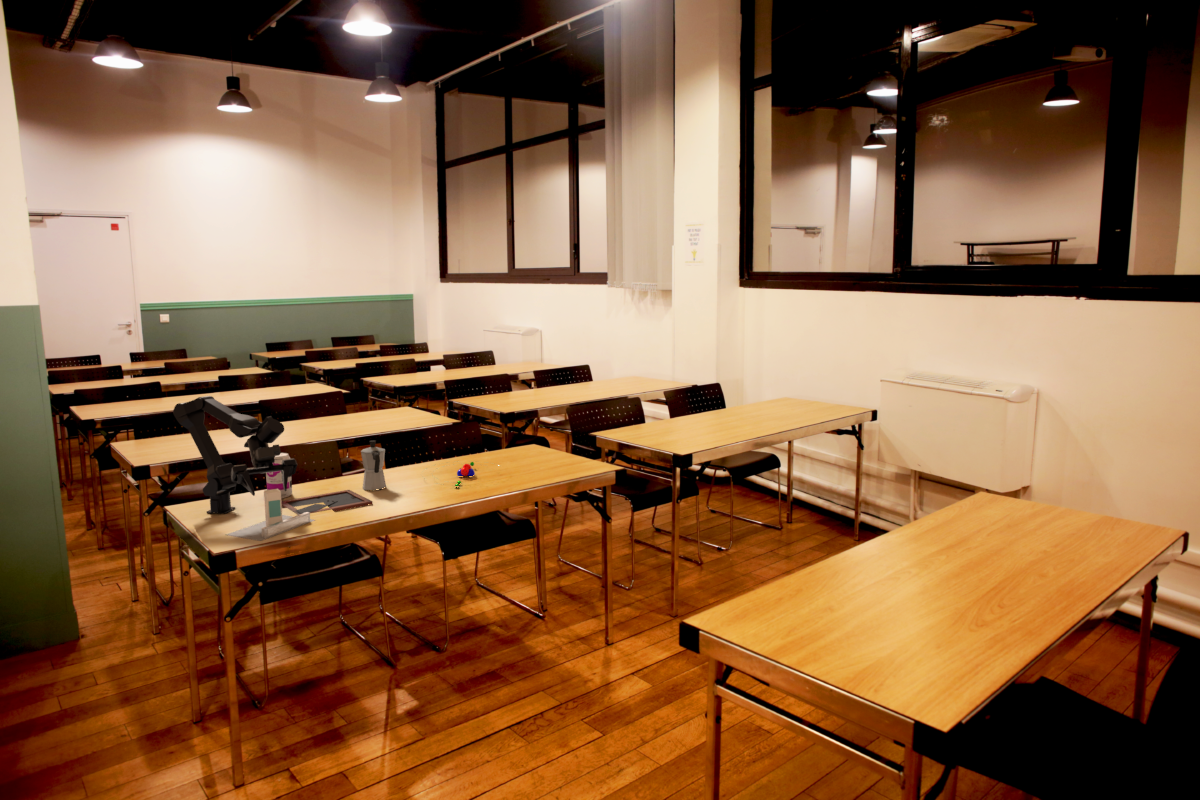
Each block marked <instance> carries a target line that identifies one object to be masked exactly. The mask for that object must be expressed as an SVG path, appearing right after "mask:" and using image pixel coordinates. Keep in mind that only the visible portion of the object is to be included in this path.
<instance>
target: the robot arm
mask: <svg viewBox="0 0 1200 800" xmlns="http://www.w3.org/2000/svg"><path fill="white" fill-rule="evenodd" d="M172 412H173V413H172V414H173V416H174V418H175V419H176V421H177V422H178V424H179V425H180V426H182V427H184V428H185V429H186V430H187V431H188V432H189V434H190V436H191V439H192V440H193V441H194V444H195V446H196V447H197V450H198V452H199V454H200V456H201V457H202V459H203V461H204V463H205V466H206V467H207V468H206V469H207V470H206V480H207V483H206V484H205V485H204V487H203V488H202V492H203V495H204V496H205V497H209V505H210V509H209V510H207V511H206V514H220V515H221V514H228V513H229V512H231V511H233V510H235V509H236V506H232V504H231V503H232V502H231V492H235V491H236V488H237V485H242V487H244V488H245V489H246V490H247V491H248V492H249V494H251V495H252V496H253V497H254V496H256V492H255V489H254V486H253V483H252V479H251V477H250V475H257V474H266V473H268V472H276V471H281V473H282V482H283V488H284V490H285V491H286V490H287V482H288V477H291V478H292V475H295V474H296V471H297V467H298V462H297V460H296V459H295V458H290V459H285V460H282V464H280V465H273V463H274V462H275V459H274V457H275V456H278V455H280V454H281V453H282V451H281V446H280V444H273V445H272V446H269V444H272V443H274V442H275V441H276V440H277V439H278V438H279V437H280V436H281V435H282V434H283V433H284V431H285V426H284V424H283V423H282V422H281V421H279V420H277V419H275V418H274V417H272V415H270V416H266V417H264V419H263V421H259V420H258V418H257V417H255V416H251V415H248V414H243V413H242V414H241V413H239V412H237V411H235V410H234V409H232V408H230V407H229V406H227V405H225V404H223V403H222V402H220V401H219V400H217V399H215V398H214V396H212V395H205V396H198V397H197V398H195V399H192V400H189V401H185V402H179V403H177V404H176V405H175V406H174V407H173V411H172ZM205 412H206V413H207V414H209V415H210V416H212V417H213V418H216V419H217V420H219V421H220V422H222V423H224V424H225V425H227V426H228V429H229V431H230V432H231V433H232V434H233V435H235V437H237V438H240V439H242V438H246V437H249V438H248V439H246V441H245V442H244V444H243V445H244V446H243V447H244V448H248V450H249V455H250V458H251V463H252V467H248V466H247V464H245V463H244V464H237V465H233V463H231V462H229V463H227V462H225V461H224V460H223V459H222V456H221V454H220V452H219V451H218V449H217V447H216V445H215V443H214V441H213V439H212V437H211V434H210V433H209V431H208V429H207V427H206V425H205V418H206V415H205Z"/></svg>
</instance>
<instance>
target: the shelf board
mask: <svg viewBox="0 0 1200 800" xmlns="http://www.w3.org/2000/svg"><path fill="white" fill-rule="evenodd" d="M291 517H294V516H292V515H286V514H282V521H283V520H286V519H289V518H291ZM315 521H316V519H312V518H310V522H308V523H305V524H303V525H300V526H297V527H295V528H292V529H289V530H287V531H284V532H281V533H279V534H276V535H273V536H271V537H268V538H266V539H264V538H262V531H261V528H264V527H266V520H264V521H261V522H258V523H255V524H251V525H249V526H247V527H243V528H240V529H238V530H235V531H232V532H229V533H227V534H225V536H230V537H234V538H235V537H236V538H241V539H247V540H252V541H258V542H263V541H264V540H267V539H270V538H272V537H275V536H277V535H280V534H283V533H285V532H288V531H291V530H293V529H297V528H298V527H302V526H305V525H306V524H307V525H308V524H309V523H313V522H315Z"/></svg>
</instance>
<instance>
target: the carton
mask: <svg viewBox="0 0 1200 800" xmlns="http://www.w3.org/2000/svg"><path fill="white" fill-rule="evenodd" d="M263 498H264V499H263V500H264V515H265V521H266V526H269V525H272V524H275V523H277V522H280V521H282V515H283V508H282V504H281V501H282V498H281V491H280V490H279V489H272V490H267V489H266V490H263Z"/></svg>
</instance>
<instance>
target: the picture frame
mask: <svg viewBox="0 0 1200 800" xmlns="http://www.w3.org/2000/svg"><path fill="white" fill-rule="evenodd" d="M322 503H323V504H322ZM281 504H282V509H288V510H290V511H292V512H293V513H294V514H296V515H300V514H302V513H305V512H310V514H313V513H319V512H324V511H329V510H330V511H333V512H339V511H340V510H341V511H345V509H346V510H350V508H351V509H355V508H354V507H356V508H361V507H360V506H362V507H365V505H367V506H369V505H368V504H372V505H373V501H372V500H370V499H369V498H367V497H364V496H362V495H361V494H358V493H357V492H354V491H353V490H350V489H345V490H339V491H333V492H328V493H321V494H316V495H310V496H304V497H298V498H293V499H286V500H281ZM302 506H305V507H302ZM296 507H297V508H298V507H302V508H299V509H297V508H296Z"/></svg>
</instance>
